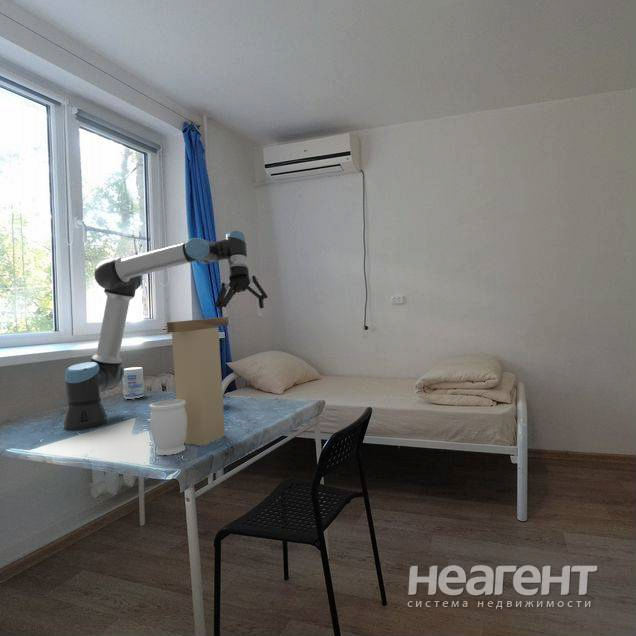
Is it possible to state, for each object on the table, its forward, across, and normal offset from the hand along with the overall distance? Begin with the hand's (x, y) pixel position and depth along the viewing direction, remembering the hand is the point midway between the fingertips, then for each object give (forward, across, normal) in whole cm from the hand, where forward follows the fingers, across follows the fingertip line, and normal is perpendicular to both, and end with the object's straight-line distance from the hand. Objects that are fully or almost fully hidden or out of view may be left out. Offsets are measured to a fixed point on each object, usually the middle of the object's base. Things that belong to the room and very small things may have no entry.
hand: (242, 320), depth 176 cm
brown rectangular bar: (+8, -7, -20) cm, 23 cm away
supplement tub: (+8, -78, +51) cm, 94 cm away
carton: (+42, -14, -10) cm, 45 cm away
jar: (+46, -18, -21) cm, 54 cm away
